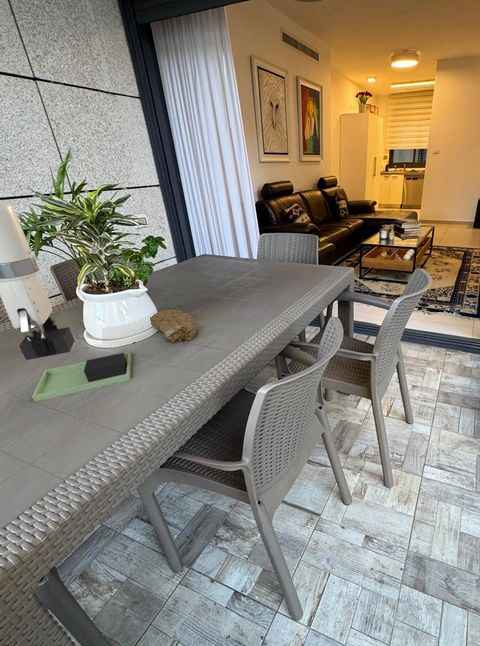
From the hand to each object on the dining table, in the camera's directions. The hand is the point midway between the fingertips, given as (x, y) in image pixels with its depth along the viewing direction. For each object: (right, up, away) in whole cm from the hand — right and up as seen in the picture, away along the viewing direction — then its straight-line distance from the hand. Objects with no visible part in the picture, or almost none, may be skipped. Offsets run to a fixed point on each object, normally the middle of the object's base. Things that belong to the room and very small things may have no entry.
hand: (50, 347), depth 78 cm
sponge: (+11, +5, +40) cm, 41 cm away
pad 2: (+2, -7, +18) cm, 19 cm away
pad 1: (0, 0, 0) cm, 1 cm away
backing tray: (-2, -8, +17) cm, 19 cm away
